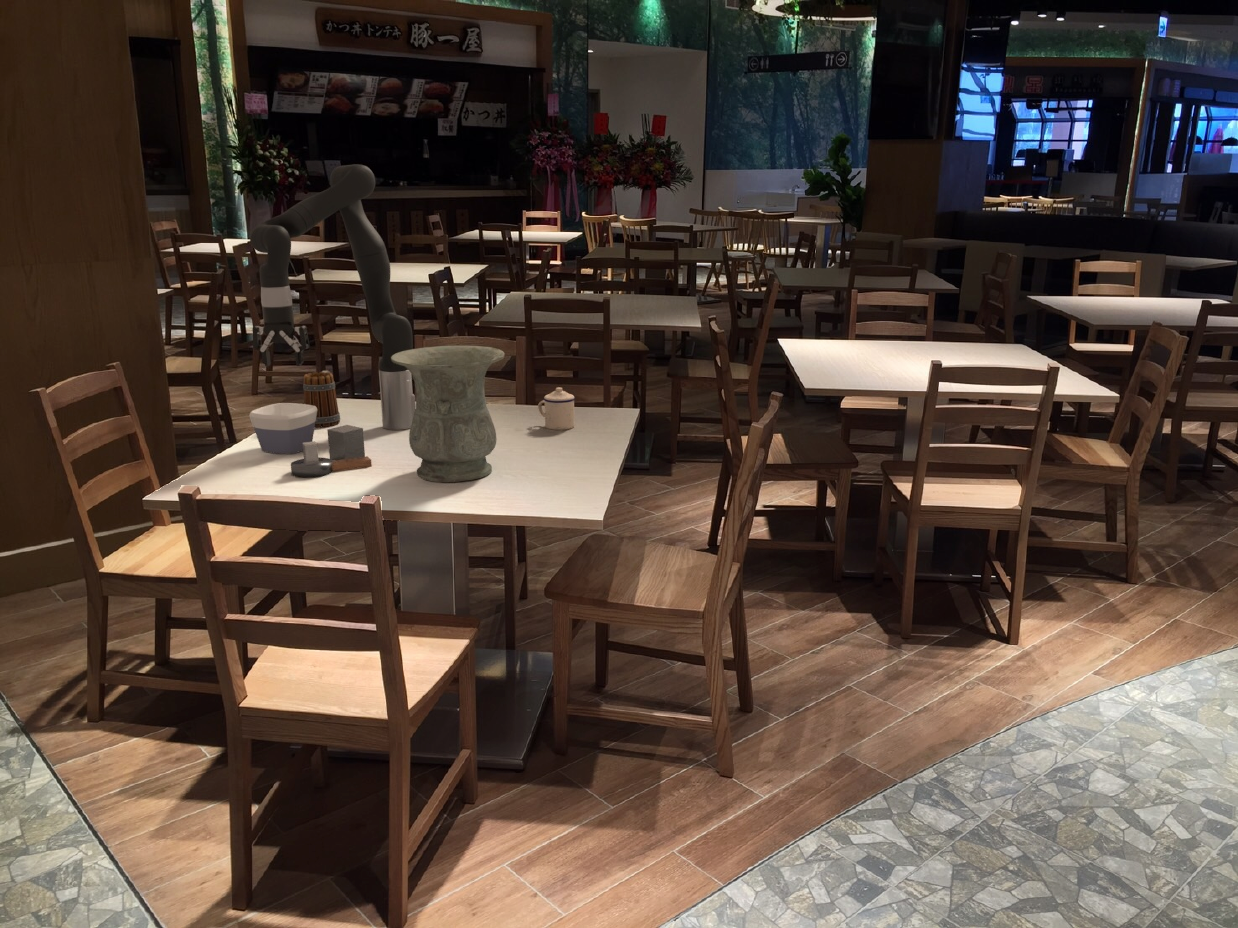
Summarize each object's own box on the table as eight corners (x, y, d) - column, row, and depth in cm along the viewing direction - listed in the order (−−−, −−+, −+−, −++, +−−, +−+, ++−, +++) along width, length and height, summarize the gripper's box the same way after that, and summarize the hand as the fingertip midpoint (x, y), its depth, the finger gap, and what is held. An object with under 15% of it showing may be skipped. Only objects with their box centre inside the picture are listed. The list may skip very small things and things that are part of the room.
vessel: (383, 486, 245) (374, 362, 237) (419, 457, 270) (412, 344, 262) (493, 490, 241) (488, 364, 233) (519, 460, 267) (515, 346, 259)
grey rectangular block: (349, 453, 274) (347, 424, 272) (365, 457, 270) (362, 428, 268) (329, 459, 269) (327, 429, 267) (345, 462, 265) (343, 432, 263)
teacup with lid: (581, 425, 304) (580, 386, 301) (563, 431, 297) (563, 392, 293) (547, 420, 310) (547, 382, 307) (530, 426, 302) (529, 388, 299)
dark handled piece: (364, 460, 268) (362, 432, 266) (374, 469, 259) (372, 440, 257) (287, 470, 259) (285, 441, 257) (296, 480, 251) (293, 450, 249)
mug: (335, 428, 302) (330, 377, 298) (299, 428, 303) (294, 378, 298) (349, 416, 317) (345, 368, 313) (315, 416, 318) (311, 368, 314)
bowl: (245, 453, 275) (240, 413, 272) (281, 440, 289) (278, 401, 286) (292, 458, 270) (289, 417, 267) (327, 444, 284) (324, 405, 281)
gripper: (309, 302, 269) (314, 363, 273) (256, 302, 270) (263, 363, 274) (298, 305, 262) (304, 368, 266) (244, 305, 263) (251, 368, 267)
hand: (283, 365), depth 270 cm, fingers open, 8 cm apart
